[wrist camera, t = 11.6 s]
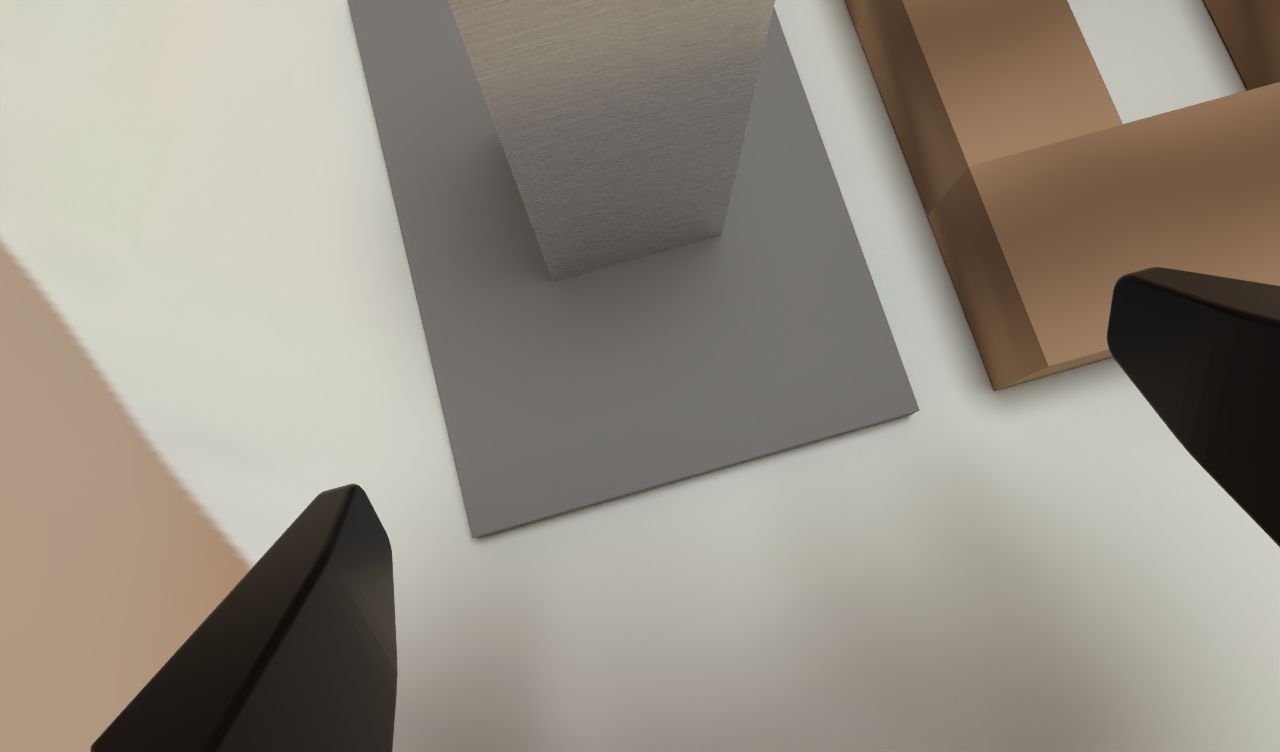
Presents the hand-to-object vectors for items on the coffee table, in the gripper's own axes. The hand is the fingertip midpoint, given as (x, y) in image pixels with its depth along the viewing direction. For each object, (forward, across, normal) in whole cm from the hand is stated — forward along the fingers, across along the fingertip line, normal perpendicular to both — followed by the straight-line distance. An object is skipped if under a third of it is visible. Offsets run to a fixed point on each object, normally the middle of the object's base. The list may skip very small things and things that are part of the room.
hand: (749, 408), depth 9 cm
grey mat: (+11, 0, +1) cm, 11 cm away
